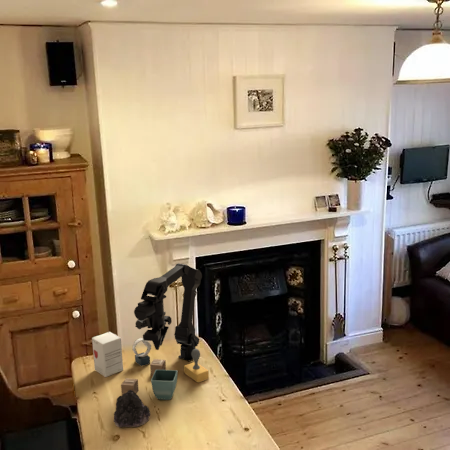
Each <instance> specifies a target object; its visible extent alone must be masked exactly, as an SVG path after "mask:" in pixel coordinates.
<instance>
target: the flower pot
mask: <svg viewBox="0 0 450 450" xmlns="http://www.w3.org/2000/svg"><path fill="white" fill-rule="evenodd" d="M178 372H179V371H178V370H176V369H166V370H155V372H154V374H153V376H151V379H150V384H151V389H152V393H153V395H154V397H155V398H156V399H157V400H165V401H166V400H168V401H169V400H171V399H172V398H173V395H174V393H175V390H176V387H177V383H178Z"/></svg>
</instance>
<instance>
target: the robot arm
mask: <svg viewBox="0 0 450 450" xmlns="http://www.w3.org/2000/svg"><path fill="white" fill-rule="evenodd" d="M180 278H181V284H182V286H183V289H184V290H183V297H182V298H183V299H182V309H181V315H180V322H179V323H178V325H176V326H175V327H174V334H173V335H174V340H175V342H176V344H178V345H180V348H179V349H180V351H179V352H180V355H178V358H179V359H181V360H184V361H188V362H191V361H193V358H192V354H191V353H192V350H193V349H197V348H196V347H198V345H199V344H200V338H199V337H198V336H197V335H196V328H195V326H194V324H193V317H194V312H195V311H194V309H195V300H196V291H197V289H198V287H199V286H200V285H201V280H202V279H203V274H202V272H201V270H200V269H196V268H193V267H191V266H189V265H188V264H186V263H179V262H178V263H176V264H175V266H174V267H172V268H171V269H169V270H168V271H167V272H166V273H165V272H164V274H162V275H161V276H159V277H154V278H151V279H149V280H148V281H147V282H145V286H144V287H143V288H144V289H143V290H142V294H141V297H140V300H142V301H140V302H138V303H137V306H136V307H134V310H133V314H134V316H135V318H136V319H137V320H136V321H135V328H137V329H138V330H142V329H144V328H147V330H146V331H144V333H143V335H142V338H143V340H146V341H148V342H152V344H153V346H154V348H155V350H156V351H159V349H160V347H162V345H163V343H164V340H165V338H166V335H167V333H168V331H169V326H170V325H171V324H172V320H173V319H172V317H171V316H170V315H166V313H167V312H166V311H165V310H164V309H165V307H164V299H166V298H167V295H166V292H168V290H169V289H168V288H169V287H170V286H171V285H172V284H173V283H175V282H176V281H178V280H179V279H180ZM166 325H167V326H166Z"/></svg>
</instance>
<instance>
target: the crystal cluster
mask: <svg viewBox="0 0 450 450" xmlns="http://www.w3.org/2000/svg"><path fill="white" fill-rule="evenodd" d="M150 417H151V411H150V408H149V406H148V405H145V404H144V402H143V400H142V399H141V398H140V396H139V395H138V393H137V394H136V393H135V392H134V391H132V390H128V392H127V393H124V394H123V395H122V394H121V395H120V396H118V397H117V398H116V403H115V410H114V413H113V423H114V424H115V426H116V427H118V428H137V427H140V426H142V425H144V424H146V423H147V422H149V420H150Z"/></svg>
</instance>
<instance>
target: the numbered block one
mask: <svg viewBox="0 0 450 450" xmlns="http://www.w3.org/2000/svg"><path fill="white" fill-rule="evenodd" d="M139 388H140V387H139V379H138V378H129V377H127V378H126V377H125V379H124V380H123V381H122V382H121V384H120V389H121V391H120V393H121V396H122V395H123V394H124V393H127V392H128V390H132V391H134V392H135V393H136V394H137V395H138V392H139Z"/></svg>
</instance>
